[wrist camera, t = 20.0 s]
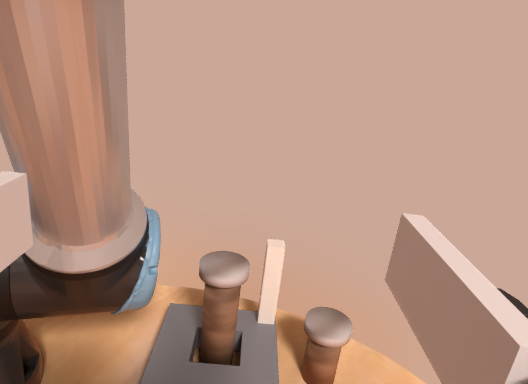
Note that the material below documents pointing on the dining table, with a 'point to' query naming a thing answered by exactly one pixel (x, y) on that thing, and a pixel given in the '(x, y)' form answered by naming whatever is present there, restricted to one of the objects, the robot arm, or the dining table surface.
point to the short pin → (324, 343)
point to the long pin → (221, 304)
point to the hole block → (246, 341)
